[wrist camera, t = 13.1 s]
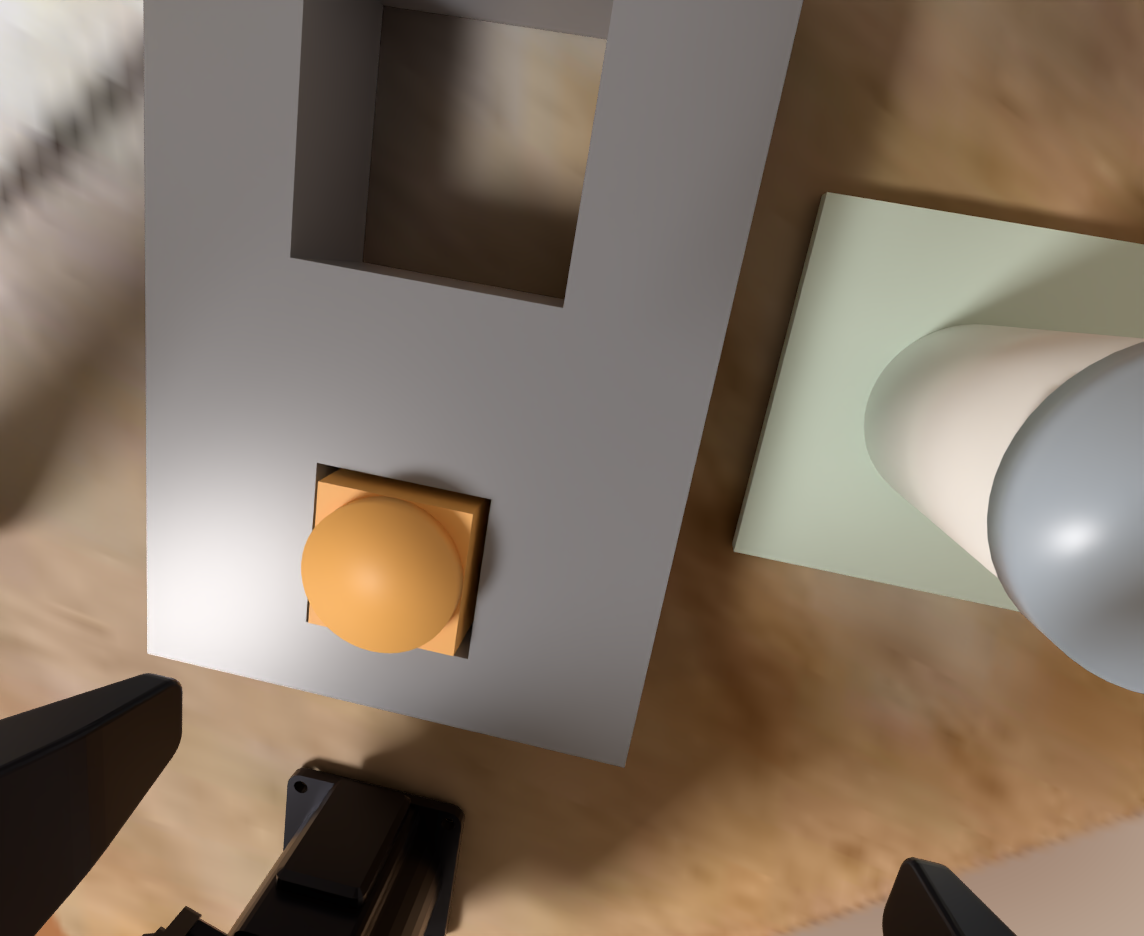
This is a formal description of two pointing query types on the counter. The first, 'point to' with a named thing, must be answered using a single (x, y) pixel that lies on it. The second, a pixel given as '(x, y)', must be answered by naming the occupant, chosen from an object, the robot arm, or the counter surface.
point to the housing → (437, 352)
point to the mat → (868, 344)
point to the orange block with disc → (394, 562)
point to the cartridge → (1030, 473)
